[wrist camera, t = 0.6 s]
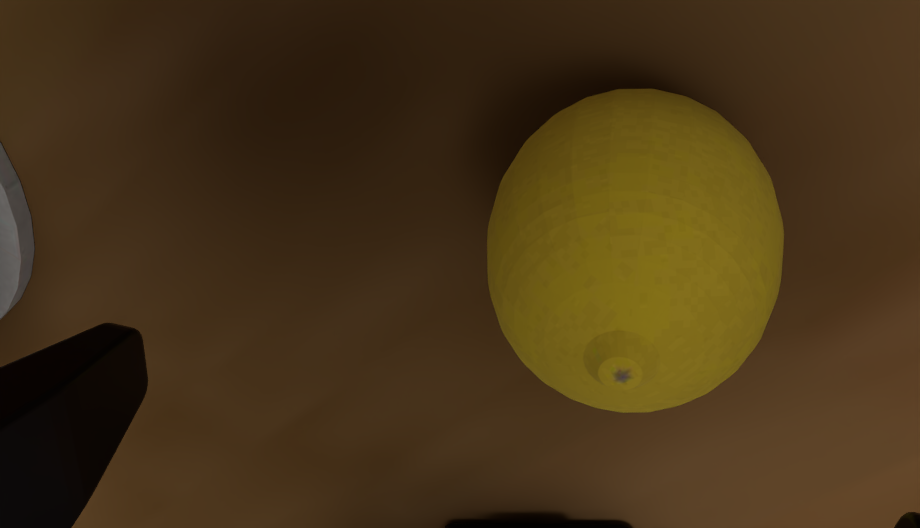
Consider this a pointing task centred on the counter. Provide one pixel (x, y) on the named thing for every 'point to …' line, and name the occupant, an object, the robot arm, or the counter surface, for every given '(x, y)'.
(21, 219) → the mate gourd
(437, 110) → the counter surface
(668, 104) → the lemon
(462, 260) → the counter surface
